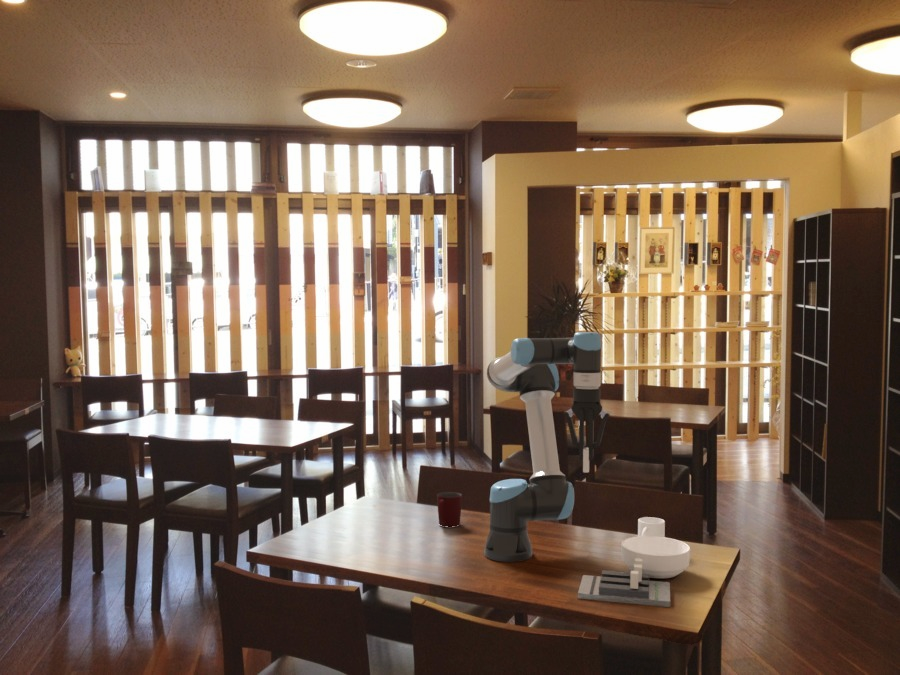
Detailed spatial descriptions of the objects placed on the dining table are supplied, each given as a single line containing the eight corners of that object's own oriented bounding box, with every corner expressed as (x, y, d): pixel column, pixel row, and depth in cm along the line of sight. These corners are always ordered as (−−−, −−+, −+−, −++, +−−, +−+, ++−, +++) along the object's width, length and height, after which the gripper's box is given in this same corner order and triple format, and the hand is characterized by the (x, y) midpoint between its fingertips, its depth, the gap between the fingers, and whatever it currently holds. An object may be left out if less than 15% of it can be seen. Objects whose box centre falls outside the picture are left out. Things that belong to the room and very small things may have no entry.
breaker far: (634, 575, 223) (634, 560, 223) (634, 572, 225) (635, 558, 225) (641, 575, 223) (642, 561, 222) (642, 572, 225) (642, 558, 225)
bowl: (687, 565, 243) (688, 538, 243) (692, 587, 224) (692, 557, 224) (621, 560, 248) (621, 533, 248) (620, 582, 229) (620, 552, 228)
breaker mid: (633, 581, 218) (634, 567, 218) (634, 578, 220) (634, 564, 220) (641, 582, 217) (641, 567, 217) (641, 579, 220) (641, 564, 219)
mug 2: (654, 560, 248) (654, 527, 247) (629, 556, 252) (629, 523, 252) (668, 551, 257) (668, 519, 257) (643, 546, 262) (644, 515, 262)
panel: (577, 598, 215) (577, 585, 215) (582, 580, 230) (583, 568, 230) (670, 607, 209) (670, 593, 209) (669, 587, 224) (669, 575, 224)
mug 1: (451, 532, 279) (451, 500, 278) (428, 528, 283) (428, 497, 282) (465, 523, 290) (465, 493, 289) (443, 520, 293) (443, 490, 293)
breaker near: (630, 588, 213) (630, 573, 213) (630, 585, 215) (630, 570, 215) (637, 588, 212) (638, 574, 212) (638, 585, 214) (638, 571, 214)
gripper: (561, 388, 221) (561, 472, 222) (609, 389, 218) (609, 475, 219) (564, 385, 229) (564, 467, 229) (611, 386, 225) (610, 470, 226)
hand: (586, 471), depth 224 cm, fingers closed
